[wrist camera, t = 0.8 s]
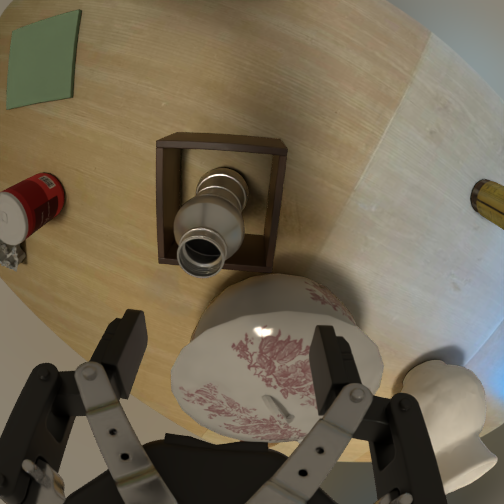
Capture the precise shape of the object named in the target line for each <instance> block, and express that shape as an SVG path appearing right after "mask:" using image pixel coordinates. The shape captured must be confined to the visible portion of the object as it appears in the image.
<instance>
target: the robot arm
mask: <svg viewBox="0 0 504 504" xmlns="http://www.w3.org/2000/svg"><path fill="white" fill-rule="evenodd" d="M147 340H148V336H147V329H146V323H145V316H144V312H143V311H141V310H133V309H127V310H126V312H125V314H124V316H123V318H122V319H120V318H116V319H115V320H114V321H112V322H111V323H110V324H109V325H108V327H107V329H106V331H105V333H104V334H103V336H102V339H101V340H100V342H99V344H98V346H97V348H96V349H95V351H94V353H93V355H92V357H91V359H90V361H89V362H85V363H83V364H81V365H80V366H79V367H78V368H77V369H76V371H64V372H63V371H62V372H58V370H57V368H56V367H55V366H54V365H53V364H50V363H42V364H39V365H38V366H36V367H35V368H34V369H33V370H32V372H31V374H30V376H29V378H28V380H27V382H26V384H25V386H24V388H23V389H22V391H21V394H20V396H19V398H18V400H17V402H16V404H15V406H14V408H13V410H12V413H11V415H10V417H9V419H8V421H7V423H6V426H5V428H4V431H3V433H2V435H1V438H0V499H2V500H3V501H4V502H5V503H6V504H338V503H336V502H335V501H334V500H333V499H332V498H331V497H330V496H329V495H328V494H327V493H325V492H324V491H323V490H322V489H321V488H320V487H319V486H320V485H321V484H322V482H323V481H324V479H325V478H326V476H327V475H328V474H329V472H330V471H331V469H332V468H333V466H334V465H335V463H336V462H337V460H338V459H339V457H340V456H341V454H342V453H343V451H344V450H345V448H346V446H347V445H348V443H349V442H350V440H351V438H355V439H360V440H366V441H368V442H369V447H370V453H371V459H372V465H373V471H374V478H375V485H376V491H377V499H378V501H376V502H375V503H374V504H447V500H446V496H445V491H444V487H443V483H442V479H441V475H440V472H439V468H438V464H437V460H436V457H435V453H434V450H433V447H432V443H431V440H430V437H429V433H428V430H427V427H426V424H425V421H424V418H423V415H422V412H421V409H420V406H419V403H418V401H417V400H416V398H415V397H413V396H412V395H410V394H408V393H398V394H395V395H394V396H393V397H392V399H387V398H382V397H377V396H374V395H372V393H371V391H370V390H369V389H368V388H367V387H366V386H364V385H362V382H361V379H360V376H359V372H358V369H357V366H356V363H355V360H354V357H353V354H352V351H351V348H350V345H349V343H348V342H347V341H346V340H345V338H344V337H343V336H336V334H335V330H334V327H333V326H332V325H316V327H315V331H314V335H313V338H312V342H311V346H310V350H309V363H310V369H311V374H312V380H313V386H314V392H315V398H316V404H317V410H318V416H323V417H322V418H320V419H319V420H318V421H317V422H316V424H315V425H314V426H313V428H312V429H311V430H310V432H309V433H308V434H307V435H306V437H305V438H304V439H303V440H302V442H301V443H300V444H299V445H298V447H297V448H296V449H295V450H294V452H293V453H292V454H291V455H290V456H289V457H287V456H286V455H284V454H282V453H280V452H278V451H275V450H272V449H268V442H250V441H240V442H234V443H227V444H219V445H215V444H211V443H208V442H205V441H202V440H199V439H196V438H193V437H190V436H183V435H175V434H169V433H166V434H165V439H163V440H157V441H152V442H149V443H146V444H144V445H141V443H140V441H139V440H138V437H137V436H136V434H135V432H134V430H133V428H132V426H131V424H130V422H129V420H128V418H127V416H126V414H125V412H124V410H123V408H122V406H121V404H120V402H119V400H120V398H123V399H128V397H129V394H130V392H131V389H132V386H133V383H134V380H135V377H136V374H137V372H138V369H139V366H140V363H141V361H142V358H143V355H144V352H145V350H146V347H147ZM76 416H87V419H88V422H89V424H90V427H91V430H92V432H93V435H94V437H95V439H96V442H97V444H98V447H99V449H100V451H101V454H102V456H103V458H104V460H105V462H106V464H107V466H108V470H107V471H105V472H104V473H102V474H100V475H99V476H98V477H96V478H95V479H93V480H92V481H90V482H88V483H87V484H85V485H84V486H82V487H81V488H79V489H78V490H76V491H75V492H73V493H72V494H70V495H69V496H68V497H67V498H65V495H64V482H63V479H62V478H61V476H60V475H59V474H58V471H59V468H60V464H61V461H62V458H63V454H64V451H65V448H66V445H67V441H68V438H69V435H70V432H71V429H72V426H73V423H74V420H75V417H76Z"/></svg>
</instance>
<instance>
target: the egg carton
mask: <svg viewBox="0 0 504 504" xmlns="http://www.w3.org/2000/svg"><path fill="white" fill-rule="evenodd" d="M25 257H26V255H25V252H23V250H22V249H21V248H20V243H19V244H18V245H9V244H6V243H4V242H3V241H2V240H1V239H0V263H1V264H2V266H5V267H7V268H9V269H13V270H14V271H17V266H18V265H19V264H20V263H21V262H22V260H23V259H24V258H25Z"/></svg>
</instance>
